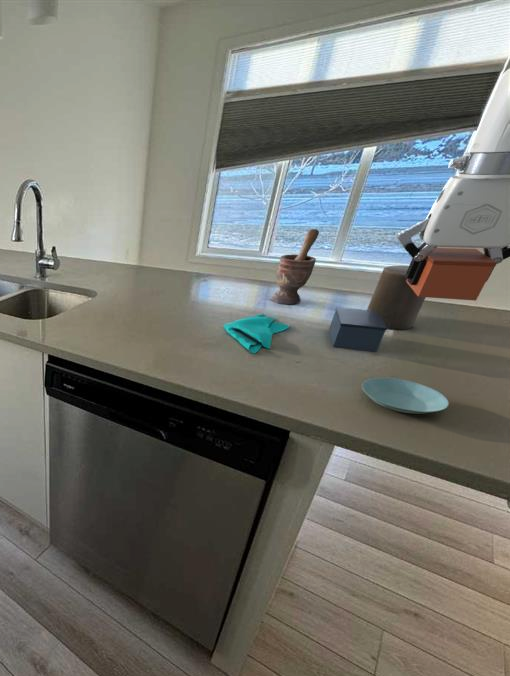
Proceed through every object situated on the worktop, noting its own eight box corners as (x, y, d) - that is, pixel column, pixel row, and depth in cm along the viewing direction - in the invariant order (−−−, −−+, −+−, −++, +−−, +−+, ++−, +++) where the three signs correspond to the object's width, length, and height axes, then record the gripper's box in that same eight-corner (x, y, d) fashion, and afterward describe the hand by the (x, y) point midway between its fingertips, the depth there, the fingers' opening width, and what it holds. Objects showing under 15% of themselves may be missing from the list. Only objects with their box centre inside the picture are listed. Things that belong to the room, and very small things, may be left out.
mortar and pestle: (270, 292, 131) (287, 227, 121) (302, 294, 127) (323, 228, 117) (268, 303, 123) (286, 235, 113) (302, 306, 119) (324, 236, 109)
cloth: (243, 312, 119) (244, 305, 117) (297, 322, 110) (299, 314, 108) (203, 341, 104) (204, 333, 103) (262, 356, 95) (264, 347, 94)
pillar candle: (374, 329, 102) (398, 270, 95) (356, 315, 110) (377, 260, 103) (421, 330, 100) (450, 269, 92) (399, 316, 108) (424, 259, 100)
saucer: (406, 427, 70) (411, 416, 68) (342, 393, 80) (346, 383, 79) (461, 414, 71) (467, 403, 70) (391, 383, 81) (396, 373, 80)
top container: (458, 284, 70) (476, 248, 67) (477, 300, 64) (497, 262, 60) (405, 281, 73) (419, 247, 70) (417, 296, 67) (433, 260, 64)
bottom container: (368, 333, 100) (378, 311, 97) (376, 352, 92) (387, 328, 89) (328, 329, 104) (335, 307, 101) (332, 347, 96) (340, 323, 93)
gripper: (424, 170, 61) (378, 287, 69) (605, 163, 52) (527, 296, 61) (412, 166, 66) (371, 275, 75) (575, 159, 58) (507, 282, 67)
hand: (441, 283), depth 68 cm, fingers closed on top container, 6 cm apart
